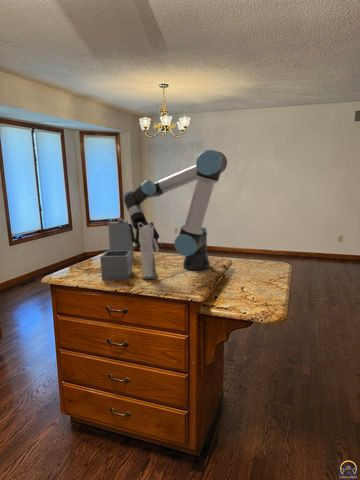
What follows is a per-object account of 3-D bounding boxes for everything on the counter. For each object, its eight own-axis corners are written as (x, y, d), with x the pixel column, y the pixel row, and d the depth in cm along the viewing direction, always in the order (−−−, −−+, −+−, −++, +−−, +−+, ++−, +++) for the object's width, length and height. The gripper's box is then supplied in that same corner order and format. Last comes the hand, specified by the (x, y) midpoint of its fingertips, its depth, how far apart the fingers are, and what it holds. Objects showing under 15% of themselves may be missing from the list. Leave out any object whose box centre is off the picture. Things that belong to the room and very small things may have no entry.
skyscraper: (139, 278, 161) (136, 223, 156) (141, 274, 169) (138, 221, 164) (156, 278, 161) (153, 223, 155) (157, 273, 169) (155, 221, 163)
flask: (135, 257, 208) (133, 218, 203) (131, 258, 204) (129, 219, 199) (113, 254, 215) (111, 217, 211) (109, 256, 211) (106, 218, 207)
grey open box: (132, 271, 176) (131, 250, 173) (128, 279, 163) (126, 256, 160) (108, 271, 176) (106, 250, 174) (101, 279, 163) (100, 256, 161)
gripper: (152, 218, 178) (166, 253, 167) (117, 222, 168) (129, 258, 157) (156, 210, 172) (170, 244, 161) (120, 212, 163) (132, 249, 152)
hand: (150, 251), depth 159 cm, fingers closed on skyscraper, 7 cm apart
